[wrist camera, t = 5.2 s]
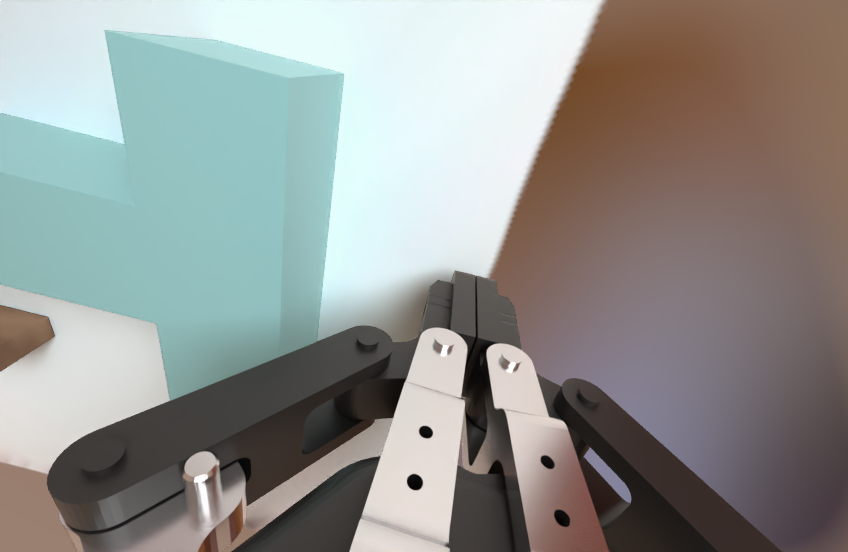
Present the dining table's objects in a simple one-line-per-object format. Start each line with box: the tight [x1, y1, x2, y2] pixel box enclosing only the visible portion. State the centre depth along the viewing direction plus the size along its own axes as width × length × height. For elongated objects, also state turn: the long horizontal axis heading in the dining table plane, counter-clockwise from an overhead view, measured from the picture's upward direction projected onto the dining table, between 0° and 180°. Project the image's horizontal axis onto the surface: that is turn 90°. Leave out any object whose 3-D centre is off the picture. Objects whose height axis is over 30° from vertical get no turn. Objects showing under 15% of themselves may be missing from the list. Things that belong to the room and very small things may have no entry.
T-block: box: [0, 30, 344, 401], centre depth 13 cm, size 12×12×4 cm
